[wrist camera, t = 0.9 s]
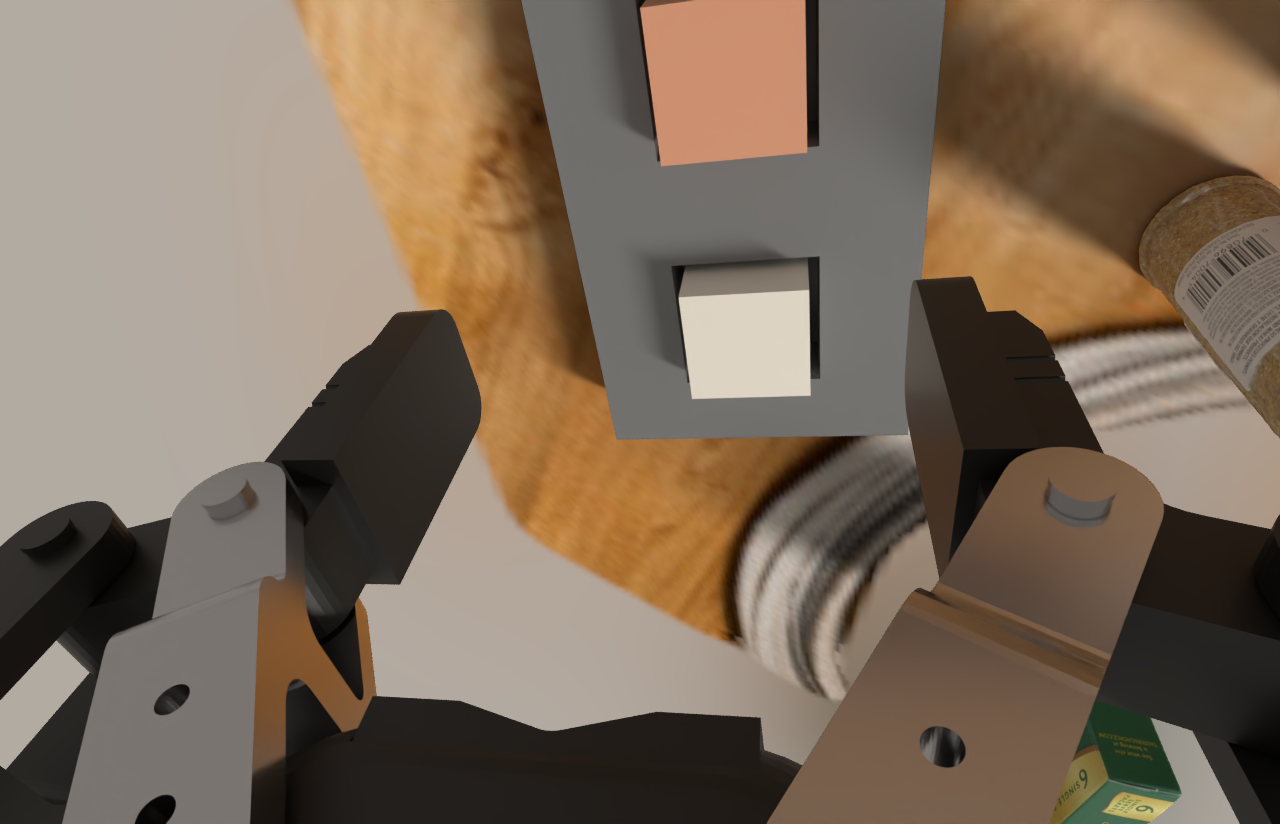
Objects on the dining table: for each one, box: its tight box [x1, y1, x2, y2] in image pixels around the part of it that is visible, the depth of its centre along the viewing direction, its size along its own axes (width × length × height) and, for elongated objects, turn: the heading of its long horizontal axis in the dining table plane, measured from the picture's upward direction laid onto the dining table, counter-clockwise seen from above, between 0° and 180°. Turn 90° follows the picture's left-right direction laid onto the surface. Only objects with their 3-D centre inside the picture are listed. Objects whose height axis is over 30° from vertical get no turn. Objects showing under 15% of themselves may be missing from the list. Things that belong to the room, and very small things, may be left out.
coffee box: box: [1049, 700, 1182, 824], centre depth 33 cm, size 8×3×13 cm, turn 173°
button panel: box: [521, 0, 946, 440], centre depth 24 cm, size 12×29×3 cm, turn 9°
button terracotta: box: [640, 0, 807, 166], centre depth 22 cm, size 4×4×3 cm
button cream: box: [679, 257, 811, 399], centre depth 28 cm, size 4×4×3 cm
